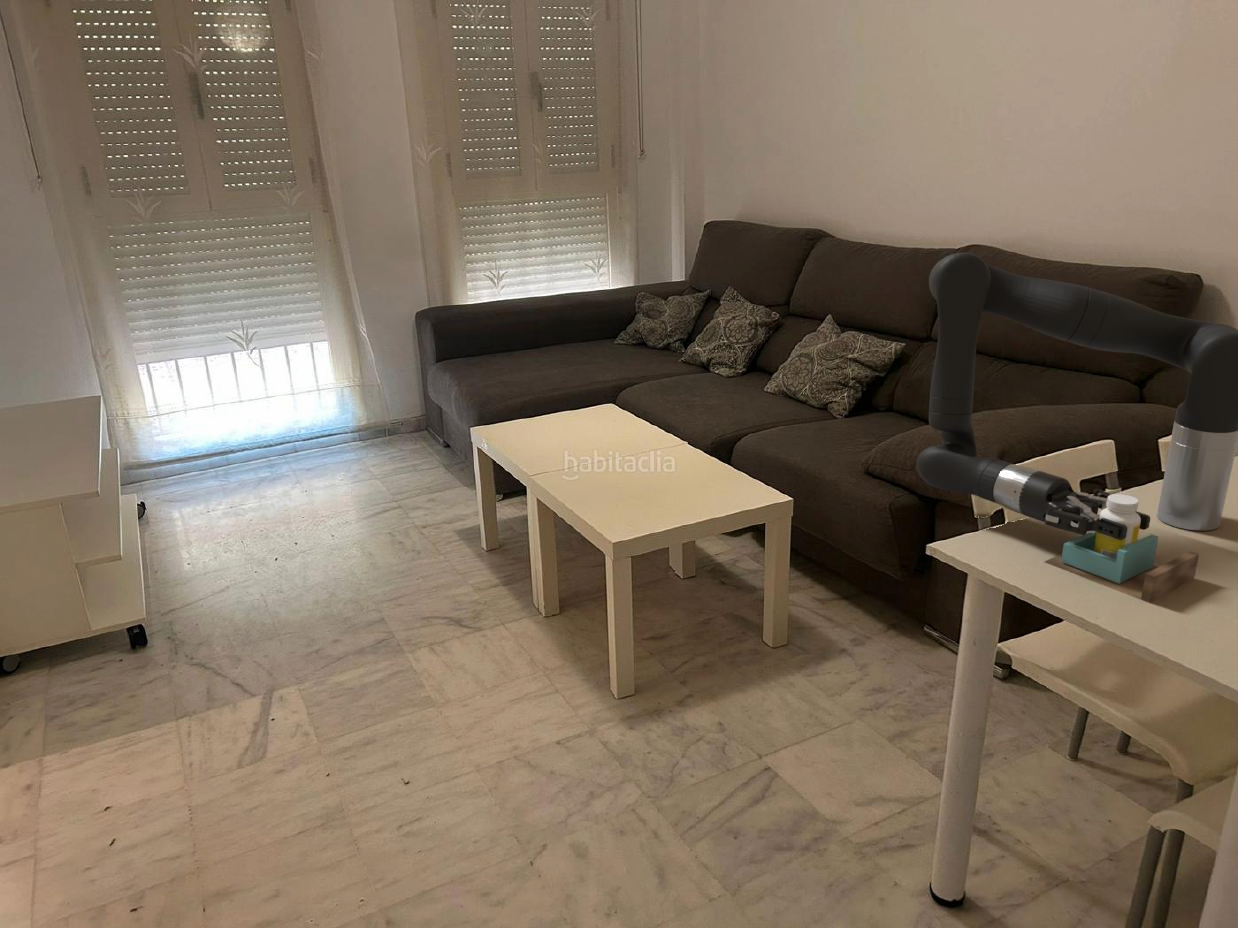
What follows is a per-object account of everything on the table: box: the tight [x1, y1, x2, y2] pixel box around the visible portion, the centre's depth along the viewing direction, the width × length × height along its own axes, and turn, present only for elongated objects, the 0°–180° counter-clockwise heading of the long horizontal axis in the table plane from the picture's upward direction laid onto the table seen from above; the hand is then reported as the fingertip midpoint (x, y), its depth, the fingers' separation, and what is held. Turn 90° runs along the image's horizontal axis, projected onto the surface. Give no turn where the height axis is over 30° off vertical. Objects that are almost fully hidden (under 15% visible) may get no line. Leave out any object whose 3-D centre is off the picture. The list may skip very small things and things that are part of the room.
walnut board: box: [1043, 550, 1200, 604], centre depth 133 cm, size 12×16×6 cm
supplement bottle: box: [1094, 493, 1141, 559], centre depth 132 cm, size 5×5×10 cm
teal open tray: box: [1061, 532, 1159, 584], centre depth 134 cm, size 9×9×5 cm
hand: (1136, 528), depth 130 cm, fingers closed on supplement bottle, 5 cm apart
